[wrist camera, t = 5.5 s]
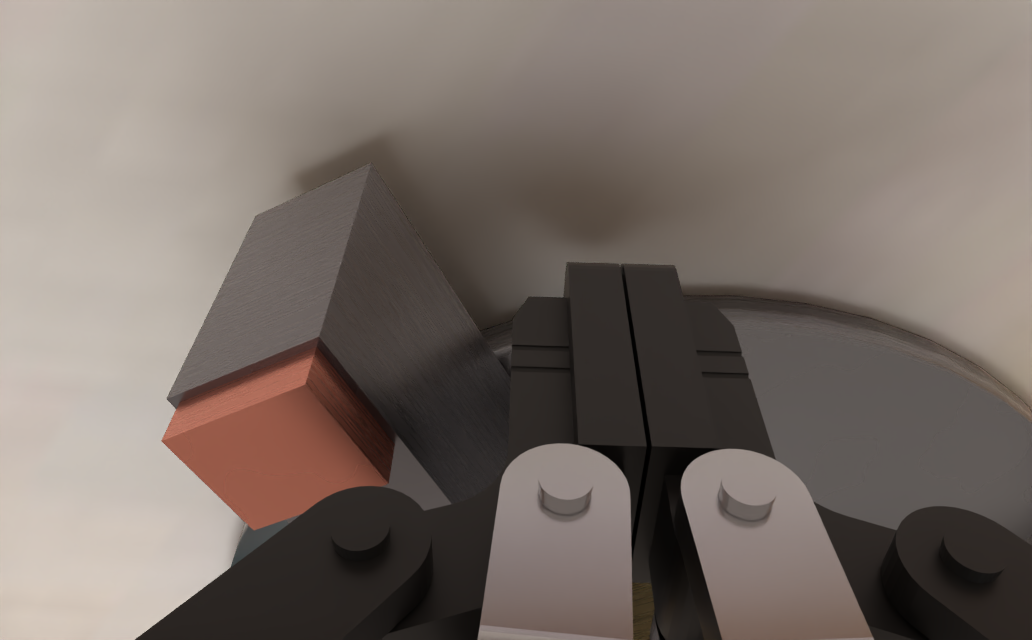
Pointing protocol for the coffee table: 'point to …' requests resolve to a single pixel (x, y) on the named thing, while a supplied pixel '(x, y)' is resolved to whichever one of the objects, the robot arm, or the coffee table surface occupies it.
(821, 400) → the plate and cap
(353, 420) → the grey and gold lever
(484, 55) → the coffee table surface
